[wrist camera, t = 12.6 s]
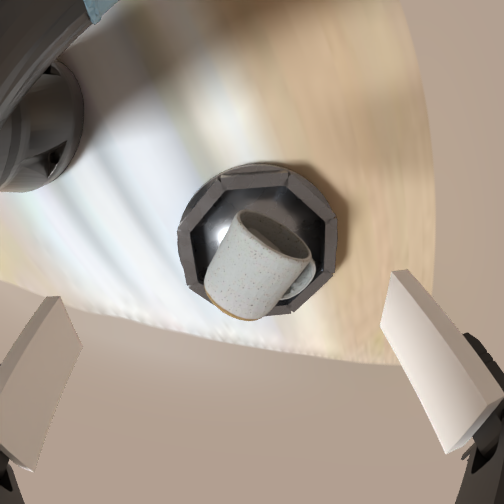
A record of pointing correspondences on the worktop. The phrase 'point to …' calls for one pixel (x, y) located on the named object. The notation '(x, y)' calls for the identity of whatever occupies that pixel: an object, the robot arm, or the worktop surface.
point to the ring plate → (266, 202)
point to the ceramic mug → (257, 266)
